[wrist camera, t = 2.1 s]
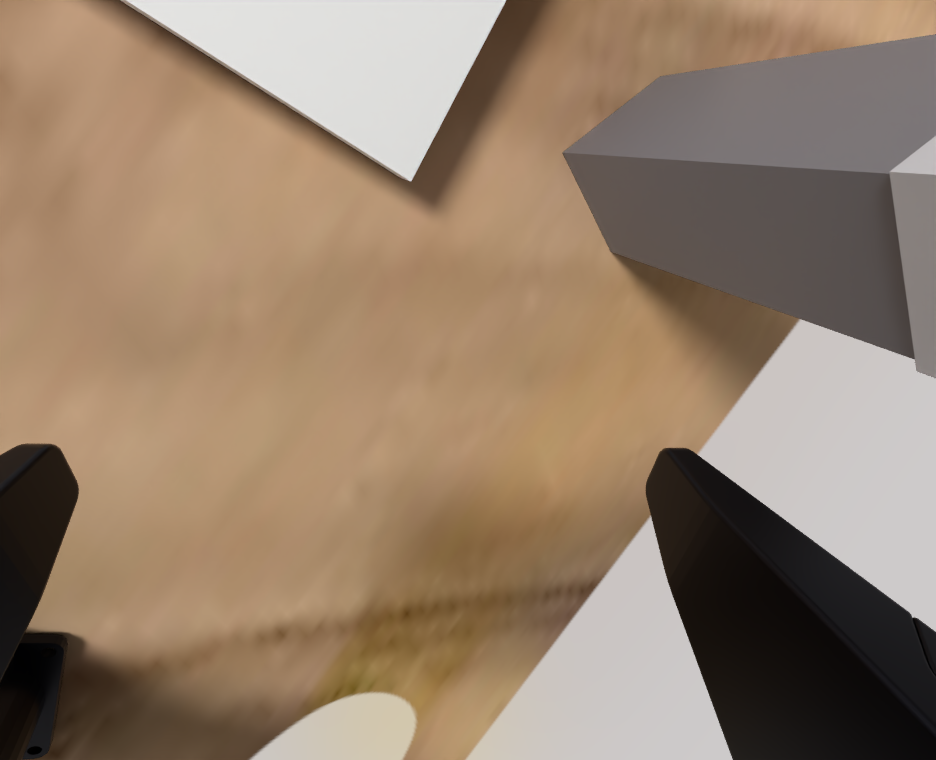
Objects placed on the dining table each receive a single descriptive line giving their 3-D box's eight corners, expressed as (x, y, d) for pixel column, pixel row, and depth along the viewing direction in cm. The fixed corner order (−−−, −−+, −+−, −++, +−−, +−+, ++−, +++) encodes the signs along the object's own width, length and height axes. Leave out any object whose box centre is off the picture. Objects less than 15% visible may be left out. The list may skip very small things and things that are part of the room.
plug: (609, 257, 21) (970, 391, 10) (557, 151, 19) (956, 176, 8) (702, 184, 21) (1164, 240, 10) (662, 69, 19) (1213, -24, 8)
